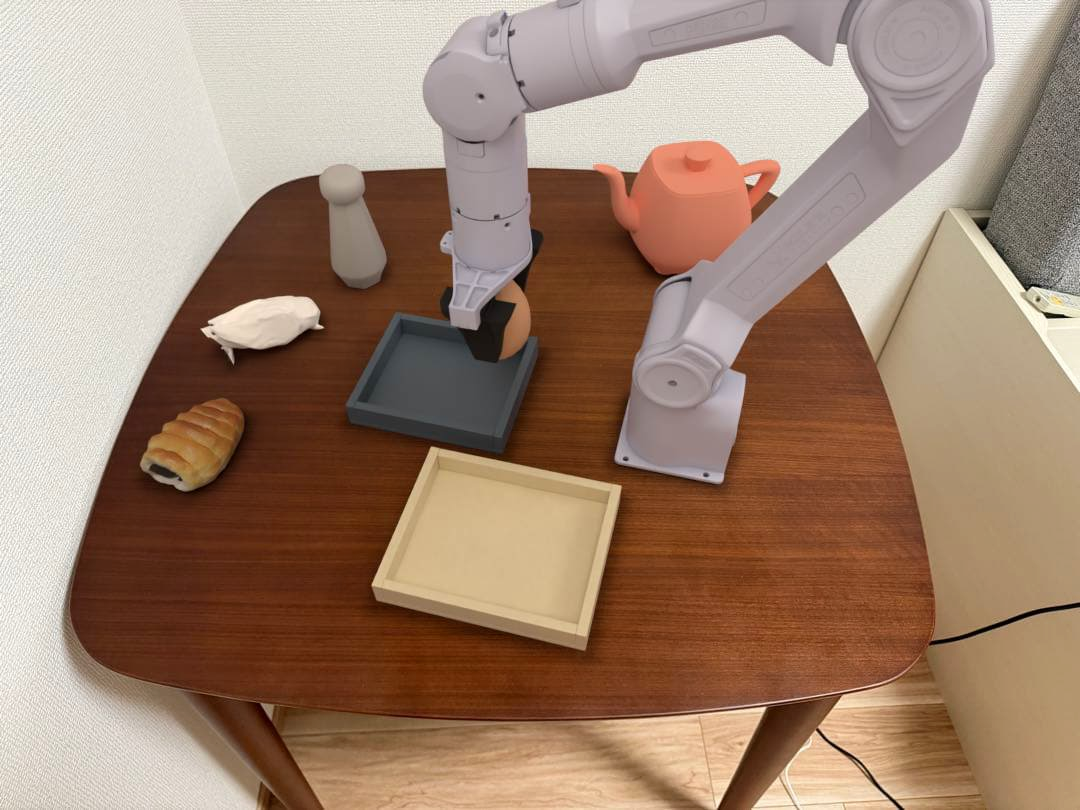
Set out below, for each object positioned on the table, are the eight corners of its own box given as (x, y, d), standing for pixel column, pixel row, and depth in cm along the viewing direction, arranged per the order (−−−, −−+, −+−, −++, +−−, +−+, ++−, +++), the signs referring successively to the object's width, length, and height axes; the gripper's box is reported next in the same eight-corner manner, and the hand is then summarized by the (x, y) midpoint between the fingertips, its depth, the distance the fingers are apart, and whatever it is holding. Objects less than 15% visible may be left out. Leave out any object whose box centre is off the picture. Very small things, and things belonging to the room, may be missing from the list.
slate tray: (538, 355, 80) (538, 337, 79) (502, 454, 73) (501, 437, 71) (398, 329, 83) (395, 311, 81) (349, 423, 75) (344, 405, 73)
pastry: (206, 402, 77) (193, 374, 74) (267, 423, 75) (256, 396, 72) (139, 478, 71) (122, 451, 68) (203, 503, 70) (188, 477, 67)
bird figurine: (250, 387, 80) (333, 325, 82) (208, 340, 75) (297, 275, 77) (234, 364, 83) (314, 305, 85) (192, 317, 78) (278, 256, 80)
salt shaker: (379, 298, 86) (357, 193, 76) (327, 291, 87) (299, 186, 77) (396, 262, 90) (377, 158, 80) (347, 256, 90) (322, 152, 80)
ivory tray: (619, 502, 69) (621, 485, 67) (585, 651, 61) (586, 636, 59) (434, 463, 72) (431, 446, 70) (376, 600, 64) (371, 585, 62)
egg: (527, 325, 73) (524, 251, 67) (536, 372, 70) (534, 298, 63) (462, 332, 73) (454, 258, 66) (468, 379, 69) (460, 306, 63)
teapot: (576, 221, 94) (579, 125, 85) (743, 202, 96) (764, 107, 87) (601, 299, 86) (608, 202, 76) (784, 276, 88) (812, 179, 78)
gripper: (467, 136, 64) (479, 269, 75) (399, 250, 55) (423, 384, 65) (555, 148, 63) (554, 282, 73) (500, 267, 54) (508, 401, 64)
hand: (498, 332), depth 69 cm, fingers closed on egg, 6 cm apart
